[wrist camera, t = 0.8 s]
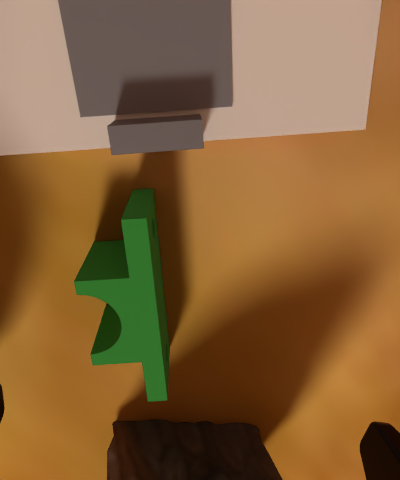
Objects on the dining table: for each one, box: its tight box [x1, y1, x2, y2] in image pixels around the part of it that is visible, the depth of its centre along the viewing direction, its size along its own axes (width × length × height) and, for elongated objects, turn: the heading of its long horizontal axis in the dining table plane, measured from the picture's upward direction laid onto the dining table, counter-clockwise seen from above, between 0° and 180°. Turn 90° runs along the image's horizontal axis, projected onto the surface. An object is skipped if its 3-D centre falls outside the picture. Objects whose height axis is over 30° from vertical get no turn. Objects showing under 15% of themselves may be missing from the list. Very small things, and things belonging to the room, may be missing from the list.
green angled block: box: [74, 188, 170, 402], centre depth 20 cm, size 11×4×5 cm, turn 2°
